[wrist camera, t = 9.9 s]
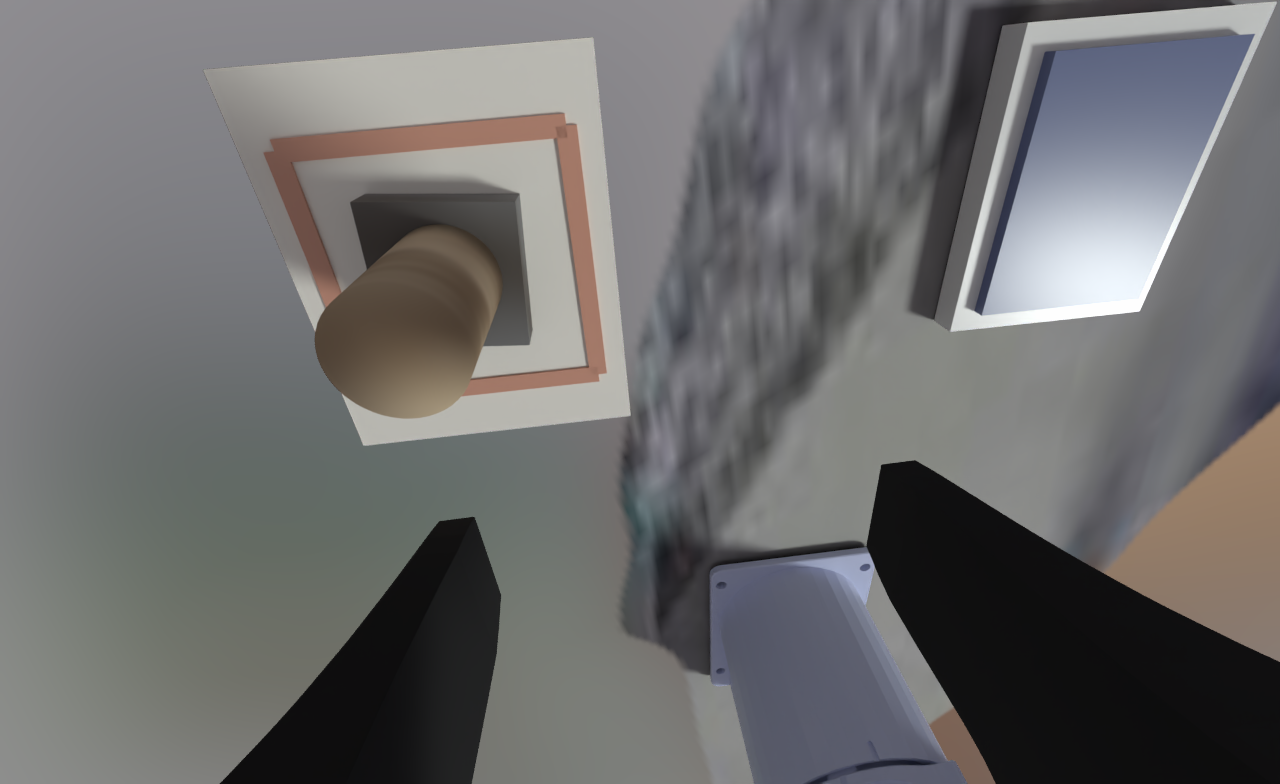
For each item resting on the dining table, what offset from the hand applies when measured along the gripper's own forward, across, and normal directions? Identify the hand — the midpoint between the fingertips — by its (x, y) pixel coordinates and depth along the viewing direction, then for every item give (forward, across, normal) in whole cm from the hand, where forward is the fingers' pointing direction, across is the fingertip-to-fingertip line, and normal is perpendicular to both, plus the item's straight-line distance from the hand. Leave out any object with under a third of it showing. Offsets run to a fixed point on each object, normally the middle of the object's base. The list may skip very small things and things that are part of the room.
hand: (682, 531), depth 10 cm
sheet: (+10, +6, -2) cm, 12 cm away
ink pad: (+10, -14, -3) cm, 18 cm away
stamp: (+10, +6, -2) cm, 12 cm away
